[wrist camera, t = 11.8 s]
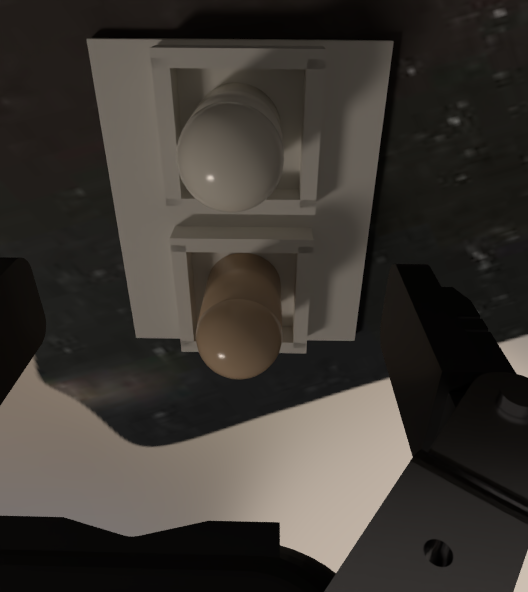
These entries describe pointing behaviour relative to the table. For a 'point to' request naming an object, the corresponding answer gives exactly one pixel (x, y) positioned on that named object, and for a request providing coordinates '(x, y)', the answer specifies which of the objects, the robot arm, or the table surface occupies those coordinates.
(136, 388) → the table surface
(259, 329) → the tan capsule
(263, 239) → the white holder tray
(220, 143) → the white capsule
